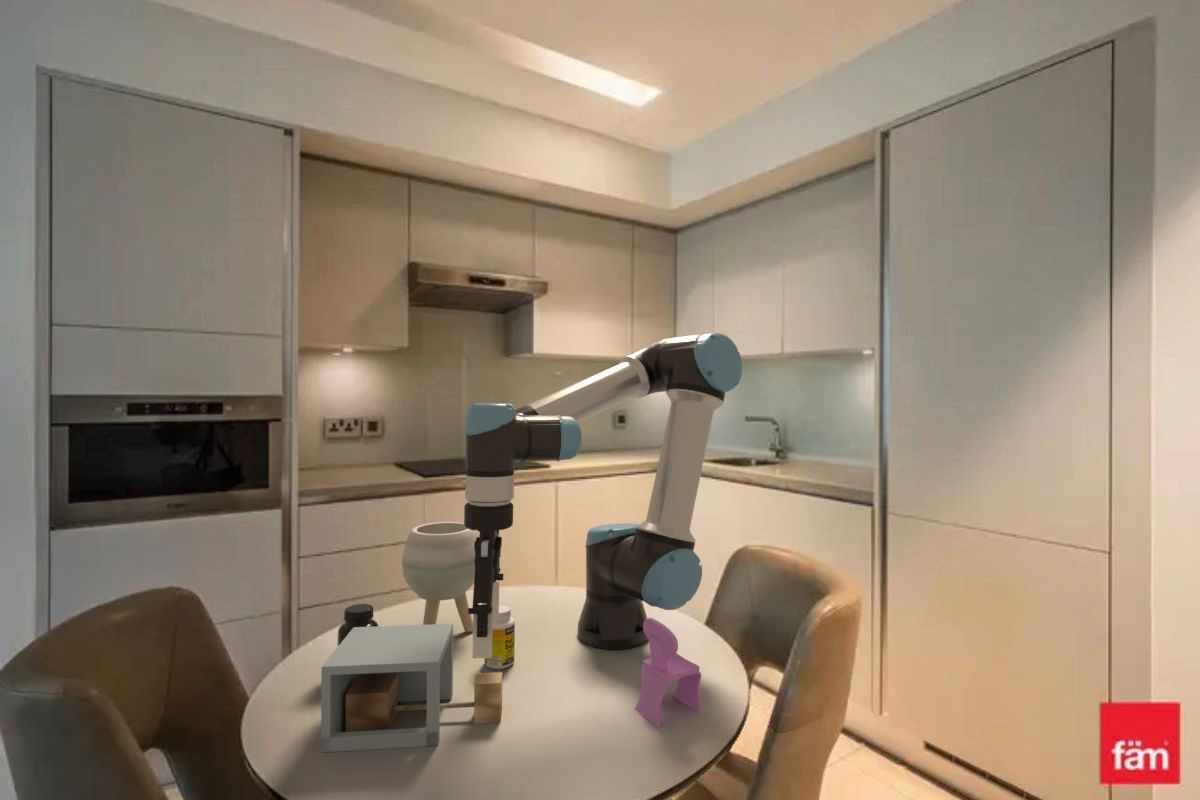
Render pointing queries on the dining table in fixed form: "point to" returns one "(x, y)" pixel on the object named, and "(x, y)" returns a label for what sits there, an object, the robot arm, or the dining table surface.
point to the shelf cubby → (388, 650)
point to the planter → (441, 567)
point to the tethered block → (378, 705)
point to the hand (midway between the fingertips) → (486, 638)
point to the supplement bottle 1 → (356, 619)
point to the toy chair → (665, 673)
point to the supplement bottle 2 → (502, 640)
